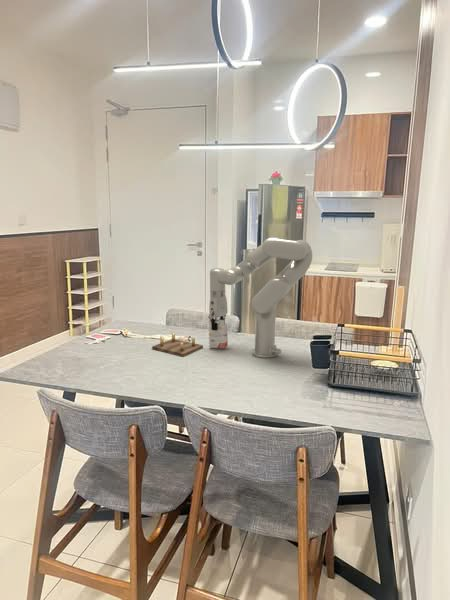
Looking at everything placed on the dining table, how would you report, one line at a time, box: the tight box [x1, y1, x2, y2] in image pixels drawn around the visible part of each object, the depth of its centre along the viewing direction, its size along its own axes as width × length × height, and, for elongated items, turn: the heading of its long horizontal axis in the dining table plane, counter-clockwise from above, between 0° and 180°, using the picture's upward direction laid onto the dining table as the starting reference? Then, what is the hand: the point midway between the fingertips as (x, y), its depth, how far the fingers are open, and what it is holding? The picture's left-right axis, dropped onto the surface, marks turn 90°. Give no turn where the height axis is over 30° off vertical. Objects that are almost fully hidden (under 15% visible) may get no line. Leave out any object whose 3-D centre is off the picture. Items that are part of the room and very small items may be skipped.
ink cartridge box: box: [208, 318, 229, 349], centre depth 215 cm, size 9×5×15 cm, turn 73°
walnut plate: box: [151, 338, 204, 358], centre depth 215 cm, size 20×16×2 cm
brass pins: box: [159, 333, 196, 351], centre depth 215 cm, size 15×11×4 cm
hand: (218, 328), depth 214 cm, fingers closed on ink cartridge box, 5 cm apart
